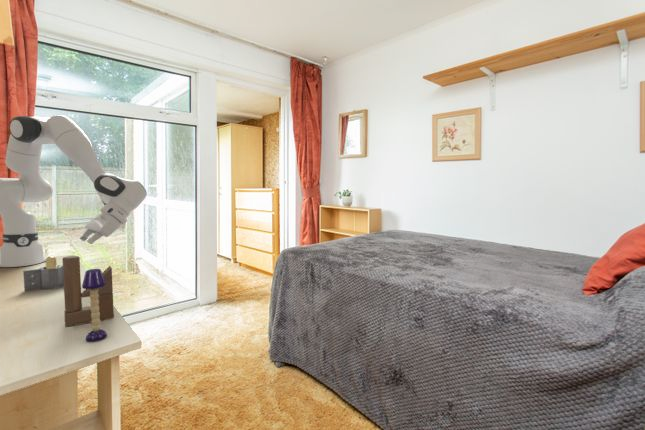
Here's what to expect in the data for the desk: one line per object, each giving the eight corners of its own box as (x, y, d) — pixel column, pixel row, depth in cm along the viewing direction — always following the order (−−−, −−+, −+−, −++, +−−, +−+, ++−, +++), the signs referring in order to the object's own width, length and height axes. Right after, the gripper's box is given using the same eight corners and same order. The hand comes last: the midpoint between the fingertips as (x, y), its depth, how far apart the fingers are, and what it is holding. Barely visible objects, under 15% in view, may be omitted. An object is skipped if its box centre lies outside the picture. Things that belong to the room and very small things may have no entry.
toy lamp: (80, 339, 80) (76, 270, 78) (100, 331, 84) (97, 266, 83) (93, 343, 78) (89, 273, 76) (112, 335, 82) (109, 268, 81)
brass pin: (46, 286, 120) (44, 256, 120) (56, 284, 123) (55, 255, 122) (47, 288, 118) (46, 257, 118) (58, 286, 121) (57, 256, 120)
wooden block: (114, 318, 93) (111, 254, 91) (65, 327, 86) (61, 259, 85) (112, 314, 96) (109, 252, 94) (64, 323, 89) (61, 256, 88)
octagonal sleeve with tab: (23, 289, 117) (21, 269, 116) (75, 280, 128) (74, 262, 127) (26, 293, 113) (25, 272, 112) (79, 283, 124) (78, 265, 123)
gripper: (98, 207, 138) (70, 233, 132) (115, 210, 125) (85, 239, 118) (110, 217, 142) (84, 243, 135) (128, 221, 129) (100, 249, 122)
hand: (85, 241), depth 127 cm, fingers open, 8 cm apart
